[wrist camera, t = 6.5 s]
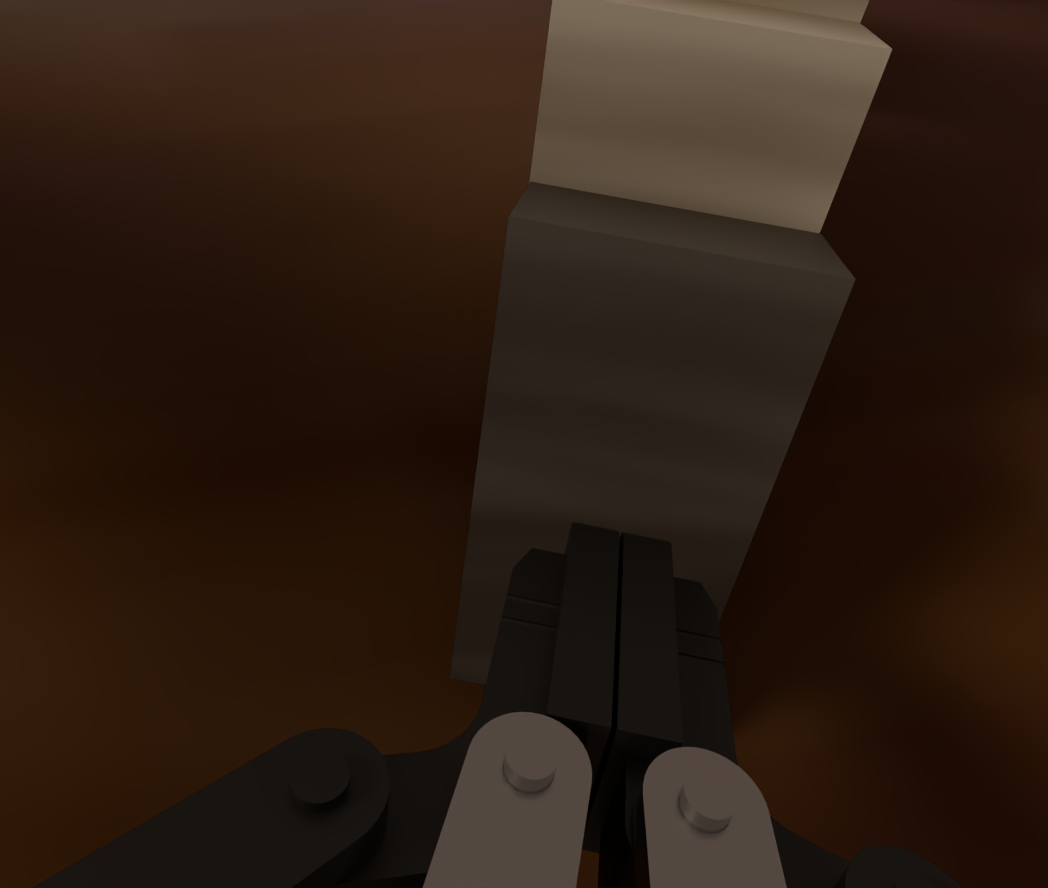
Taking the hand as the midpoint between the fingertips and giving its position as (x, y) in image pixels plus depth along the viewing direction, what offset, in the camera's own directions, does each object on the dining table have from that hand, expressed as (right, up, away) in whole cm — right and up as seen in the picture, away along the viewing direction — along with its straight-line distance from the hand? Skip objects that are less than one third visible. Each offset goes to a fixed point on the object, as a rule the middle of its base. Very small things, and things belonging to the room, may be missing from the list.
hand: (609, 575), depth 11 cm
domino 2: (0, -3, +6) cm, 6 cm away
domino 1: (+1, +1, +7) cm, 7 cm away
